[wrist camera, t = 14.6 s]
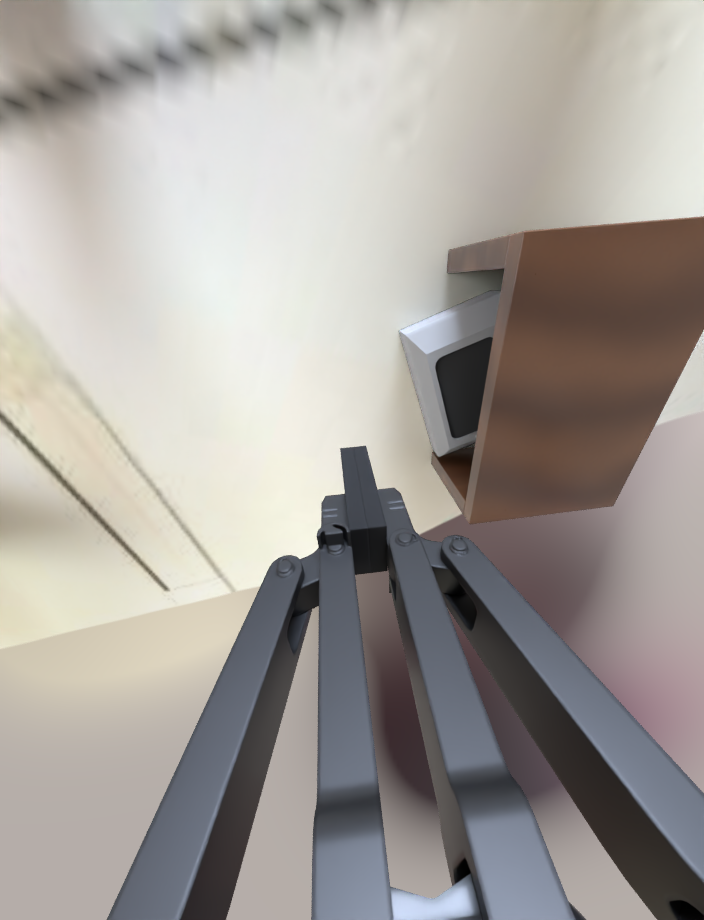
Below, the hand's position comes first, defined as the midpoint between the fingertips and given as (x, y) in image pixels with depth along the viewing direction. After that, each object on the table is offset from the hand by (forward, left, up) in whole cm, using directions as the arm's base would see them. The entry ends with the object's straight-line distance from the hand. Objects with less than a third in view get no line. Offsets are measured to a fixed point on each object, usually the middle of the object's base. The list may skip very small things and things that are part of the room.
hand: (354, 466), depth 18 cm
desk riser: (0, +19, -17) cm, 25 cm away
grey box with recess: (+1, +14, -17) cm, 22 cm away
